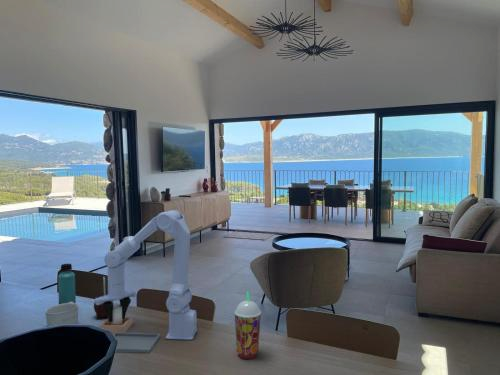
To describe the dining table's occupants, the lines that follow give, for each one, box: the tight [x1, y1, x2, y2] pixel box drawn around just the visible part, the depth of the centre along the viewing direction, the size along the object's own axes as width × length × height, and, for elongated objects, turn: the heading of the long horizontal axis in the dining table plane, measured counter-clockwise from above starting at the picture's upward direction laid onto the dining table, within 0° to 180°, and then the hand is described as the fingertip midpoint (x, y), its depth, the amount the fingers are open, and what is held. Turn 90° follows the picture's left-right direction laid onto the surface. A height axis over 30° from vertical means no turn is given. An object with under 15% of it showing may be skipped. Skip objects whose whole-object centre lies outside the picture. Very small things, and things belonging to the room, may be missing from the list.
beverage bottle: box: [57, 263, 77, 304], centre depth 155 cm, size 6×7×20 cm
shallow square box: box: [99, 316, 133, 335], centre depth 139 cm, size 9×9×3 cm
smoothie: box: [233, 291, 262, 360], centre depth 120 cm, size 8×8×20 cm
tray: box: [114, 332, 161, 354], centre depth 126 cm, size 16×12×2 cm
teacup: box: [44, 302, 79, 328], centre depth 141 cm, size 14×11×8 cm
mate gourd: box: [93, 276, 114, 320], centre depth 150 cm, size 8×8×15 cm
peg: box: [111, 304, 122, 325], centre depth 139 cm, size 4×4×8 cm
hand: (116, 319), depth 139 cm, fingers closed on peg, 4 cm apart
